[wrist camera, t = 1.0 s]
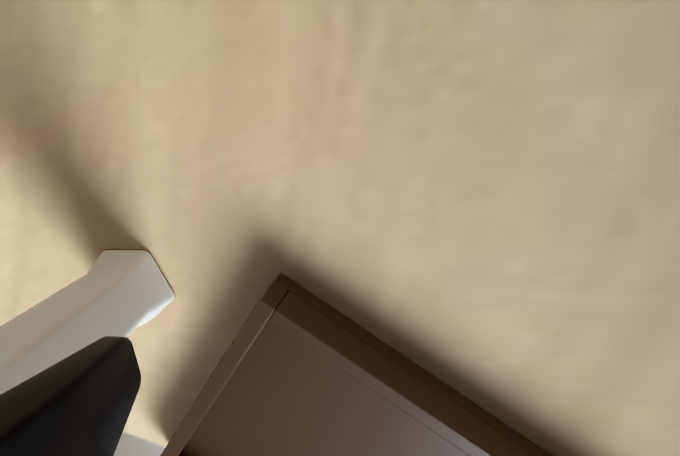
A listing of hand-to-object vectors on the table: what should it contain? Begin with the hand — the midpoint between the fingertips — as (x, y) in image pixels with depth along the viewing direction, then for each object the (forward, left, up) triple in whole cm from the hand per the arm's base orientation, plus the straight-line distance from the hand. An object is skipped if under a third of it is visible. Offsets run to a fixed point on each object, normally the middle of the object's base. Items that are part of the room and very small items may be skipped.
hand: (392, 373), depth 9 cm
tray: (-6, +15, -12) cm, 20 cm away
